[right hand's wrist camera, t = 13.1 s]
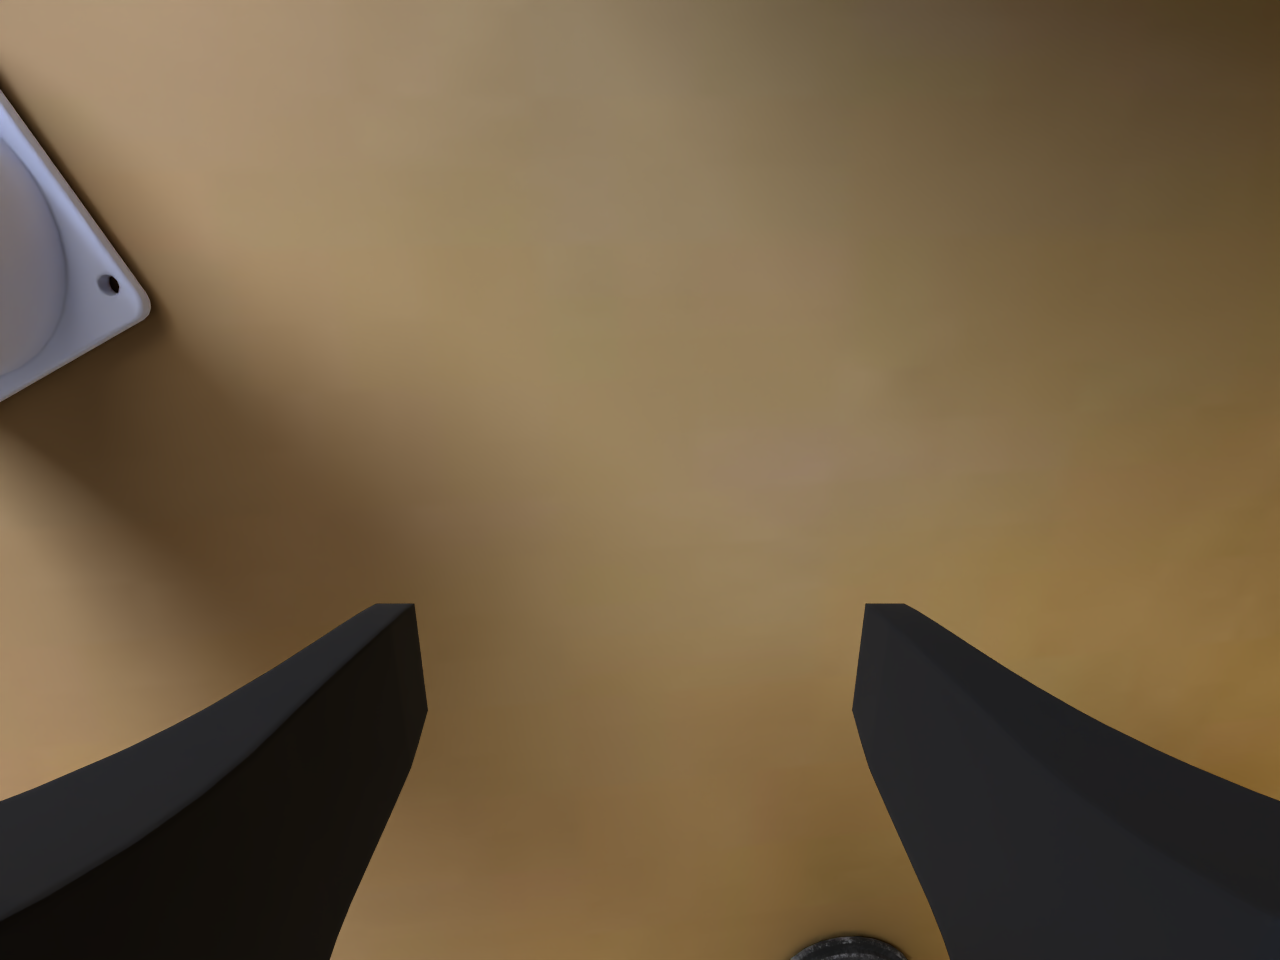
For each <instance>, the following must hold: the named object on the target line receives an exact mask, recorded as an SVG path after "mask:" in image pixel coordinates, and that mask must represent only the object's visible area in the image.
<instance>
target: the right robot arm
mask: <svg viewBox="0 0 1280 960" xmlns="http://www.w3.org/2000/svg"><path fill="white" fill-rule="evenodd" d="M111 276H113V277H114V278H115V279H116V280H117V282H118V284H119V292H118V293H116V292H114V291H113V290H112V289H111V287H110V284H109V278H110V277H111ZM150 310H151V304H150V299H149V297H148V295H147V293H146V292H145V291H144V289H143V288H142V286H141V285H140V284H139V282H138V281H137V279H136V278H135V277H134V275H133V274H132V272H131V271H130V270H129V268H128V267H127V265H126V264H125V263H124V261H123V260H122V258H121V257H120V256H119V254H118V253H117V251H116V250H115V249H114V247H113V246H112V245H111V243H110V242H109V240H108V239H107V238H106V236H105V235H104V233H103V232H102V231H101V229H100V228H99V226H98V225H97V224H96V222H95V221H94V219H93V218H92V217H91V215H90V214H89V212H88V211H87V210H86V208H85V207H84V205H83V204H82V203H81V201H80V200H79V198H78V197H77V196H76V194H75V193H74V192H73V190H72V189H71V187H70V186H69V185H68V183H67V182H66V180H65V179H64V178H63V176H62V175H61V173H60V172H59V171H58V169H57V168H56V166H55V165H54V164H53V162H52V161H51V159H50V158H49V157H48V155H47V154H46V152H45V151H44V150H43V148H42V147H41V145H40V144H39V143H38V141H37V140H36V138H35V137H34V136H33V134H32V133H31V132H30V130H29V129H28V127H27V126H26V125H25V123H24V122H23V120H22V119H21V118H20V116H19V115H18V113H17V112H16V111H15V109H14V108H13V106H12V105H11V104H10V102H9V101H8V99H7V98H6V97H5V95H4V94H3V92H2V91H1V90H0V402H1V401H3V400H5V399H7V398H8V397H10V396H12V395H14V394H15V393H17V392H19V391H20V390H22V389H24V388H26V387H27V386H29V385H31V384H33V383H34V382H36V381H38V380H40V379H41V378H43V377H45V376H47V375H48V374H50V373H52V372H54V371H55V370H57V369H59V368H61V367H62V366H64V365H66V364H67V363H69V362H71V361H73V360H74V359H76V358H78V357H80V356H81V355H83V354H85V353H87V352H88V351H90V350H92V349H94V348H95V347H97V346H99V345H101V344H102V343H104V342H106V341H108V340H109V339H111V338H113V337H114V336H116V335H118V334H120V333H121V332H123V331H125V330H127V329H128V328H130V327H132V326H134V325H135V324H137V323H139V322H141V321H142V320H144V319H145V318H146V317H147V316H148V315H149V313H150ZM427 711H428V708H427V700H426V692H425V684H424V676H423V668H422V660H421V652H420V644H419V636H418V629H417V621H416V613H415V605H414V604H375V605H373V606H371V607H369V608H367V609H365V610H364V611H362V612H360V613H359V614H357V615H355V616H354V617H352V618H351V619H349V620H347V621H346V622H344V623H343V624H341V625H340V626H338V627H337V628H335V629H334V630H332V631H330V632H329V633H327V634H326V635H324V636H323V637H321V638H320V639H318V640H317V641H315V642H314V643H312V644H311V645H309V646H307V647H306V648H304V649H303V650H301V651H300V652H298V653H297V654H295V655H294V656H292V657H290V658H289V659H287V660H286V661H284V662H283V663H281V664H280V665H278V666H276V667H275V668H273V669H272V670H270V671H268V672H267V673H265V674H263V675H261V676H260V677H258V678H256V679H255V680H253V681H251V682H250V683H248V684H246V685H245V686H243V687H241V688H240V689H238V690H236V691H235V692H233V693H231V694H230V695H228V696H226V697H224V698H223V699H221V700H219V701H218V702H216V703H214V704H213V705H211V706H209V707H207V708H205V709H204V710H202V711H200V712H198V713H196V714H194V715H193V716H191V717H189V718H187V719H185V720H183V721H181V722H179V723H177V724H176V725H174V726H172V727H169V728H167V729H165V730H163V731H161V732H159V733H157V734H155V735H153V736H151V737H149V738H147V739H145V740H143V741H141V742H139V743H137V744H135V745H133V746H131V747H129V748H127V749H124V750H122V751H120V752H118V753H116V754H113V755H111V756H109V757H106V758H104V759H102V760H99V761H97V762H95V763H92V764H90V765H88V766H85V767H83V768H81V769H78V770H76V771H74V772H71V773H69V774H67V775H64V776H62V777H60V778H57V779H55V780H53V781H50V782H48V783H46V784H43V785H41V786H39V787H36V788H34V789H31V790H29V791H26V792H24V793H21V794H19V795H16V796H13V797H11V798H8V799H5V800H3V801H0V960H330V957H331V954H332V951H333V948H334V945H335V942H336V940H337V937H338V934H339V932H340V929H341V927H342V924H343V922H344V919H345V917H346V914H347V912H348V909H349V907H350V904H351V902H352V900H353V897H354V895H355V893H356V891H357V888H358V886H359V884H360V882H361V880H362V877H363V875H364V873H365V871H366V868H367V866H368V864H369V862H370V859H371V857H372V855H373V853H374V851H375V848H376V846H377V844H378V842H379V839H380V837H381V835H382V833H383V830H384V828H385V826H386V824H387V822H388V819H389V817H390V815H391V813H392V810H393V808H394V806H395V803H396V801H397V799H398V797H399V794H400V792H401V790H402V788H403V785H404V783H405V781H406V778H407V776H408V774H409V771H410V769H411V766H412V763H413V760H414V756H415V753H416V750H417V747H418V743H419V740H420V736H421V733H422V729H423V726H424V722H425V718H426V715H427ZM852 711H853V715H854V718H855V722H856V726H857V729H858V733H859V736H860V740H861V743H862V747H863V750H864V753H865V756H866V760H867V763H868V766H869V769H870V771H871V774H872V776H873V778H874V781H875V783H876V785H877V788H878V790H879V792H880V794H881V797H882V799H883V801H884V803H885V806H886V808H887V810H888V813H889V815H890V817H891V819H892V822H893V824H894V826H895V828H896V830H897V833H898V835H899V837H900V839H901V842H902V844H903V846H904V848H905V851H906V853H907V855H908V857H909V859H910V862H911V864H912V866H913V868H914V871H915V873H916V875H917V877H918V880H919V882H920V884H921V886H922V888H923V891H924V893H925V895H926V897H927V900H928V902H929V904H930V907H931V909H932V912H933V914H934V917H935V919H936V922H937V924H938V927H939V929H940V932H941V934H942V937H943V940H944V942H945V945H946V948H947V951H948V954H949V957H950V960H1280V801H1278V800H1276V799H1273V798H1270V797H1268V796H1265V795H1262V794H1260V793H1257V792H1255V791H1252V790H1250V789H1247V788H1245V787H1242V786H1240V785H1237V784H1235V783H1233V782H1230V781H1228V780H1225V779H1223V778H1221V777H1218V776H1216V775H1213V774H1211V773H1209V772H1206V771H1204V770H1201V769H1199V768H1197V767H1194V766H1192V765H1189V764H1187V763H1185V762H1183V761H1180V760H1178V759H1176V758H1174V757H1172V756H1169V755H1167V754H1165V753H1163V752H1160V751H1158V750H1156V749H1154V748H1152V747H1150V746H1148V745H1146V744H1144V743H1142V742H1140V741H1138V740H1136V739H1134V738H1132V737H1130V736H1128V735H1126V734H1123V733H1121V732H1119V731H1117V730H1115V729H1113V728H1111V727H1109V726H1107V725H1105V724H1103V723H1101V722H1099V721H1098V720H1096V719H1094V718H1092V717H1090V716H1088V715H1086V714H1084V713H1082V712H1081V711H1079V710H1077V709H1075V708H1073V707H1072V706H1070V705H1068V704H1066V703H1065V702H1063V701H1061V700H1059V699H1058V698H1056V697H1054V696H1052V695H1051V694H1049V693H1047V692H1045V691H1044V690H1042V689H1040V688H1038V687H1037V686H1035V685H1033V684H1032V683H1030V682H1028V681H1027V680H1025V679H1024V678H1022V677H1020V676H1019V675H1017V674H1015V673H1014V672H1012V671H1011V670H1009V669H1007V668H1006V667H1004V666H1003V665H1001V664H999V663H998V662H996V661H995V660H993V659H992V658H990V657H988V656H987V655H985V654H984V653H982V652H981V651H979V650H978V649H976V648H974V647H973V646H971V645H970V644H968V643H967V642H965V641H964V640H962V639H961V638H959V637H958V636H956V635H955V634H953V633H952V632H950V631H948V630H947V629H945V628H944V627H942V626H941V625H939V624H938V623H936V622H935V621H933V620H931V619H930V618H928V617H927V616H925V615H923V614H922V613H920V612H918V611H917V610H915V609H913V608H911V607H910V606H908V605H906V604H866V605H865V613H864V621H863V628H862V636H861V644H860V652H859V660H858V668H857V676H856V684H855V692H854V700H853V708H852Z"/></svg>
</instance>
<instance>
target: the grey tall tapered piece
mask: <svg viewBox="0 0 1280 960" xmlns="http://www.w3.org/2000/svg"><path fill="white" fill-rule="evenodd" d="M790 960H907V959H906V957H905V956H904V955H903V953H901V952H900V951H898V950H897V949H896V948H894V947H893V946H891V945H890V944H887V943H884V942H882V941H879V940H876V939H872V938H865V937H858V936H854V937H837V938H833V939H829V940H824V941H820V942H818V943H816V944H814V945H811V946H809V947H807V948H805V949H803V950H802V951H801V952H799V953H798V954H796V955H795V956H794V957H792V958H791V959H790Z"/></svg>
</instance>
